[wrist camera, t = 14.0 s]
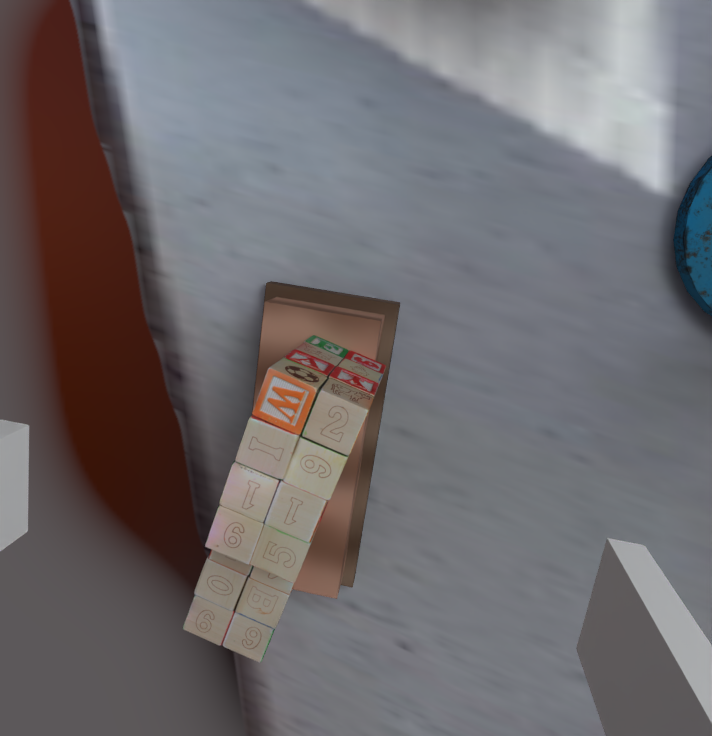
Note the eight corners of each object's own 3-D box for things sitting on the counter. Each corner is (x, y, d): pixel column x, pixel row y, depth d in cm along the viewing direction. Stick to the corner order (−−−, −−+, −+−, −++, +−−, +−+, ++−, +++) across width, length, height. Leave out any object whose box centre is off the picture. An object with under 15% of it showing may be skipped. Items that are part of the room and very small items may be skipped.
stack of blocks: (291, 588, 50) (246, 699, 38) (224, 558, 50) (158, 659, 38) (387, 363, 44) (370, 410, 33) (312, 331, 45) (267, 366, 33)
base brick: (271, 281, 49) (253, 286, 44) (400, 302, 48) (396, 310, 43) (240, 554, 56) (222, 584, 51) (354, 577, 55) (346, 611, 50)
